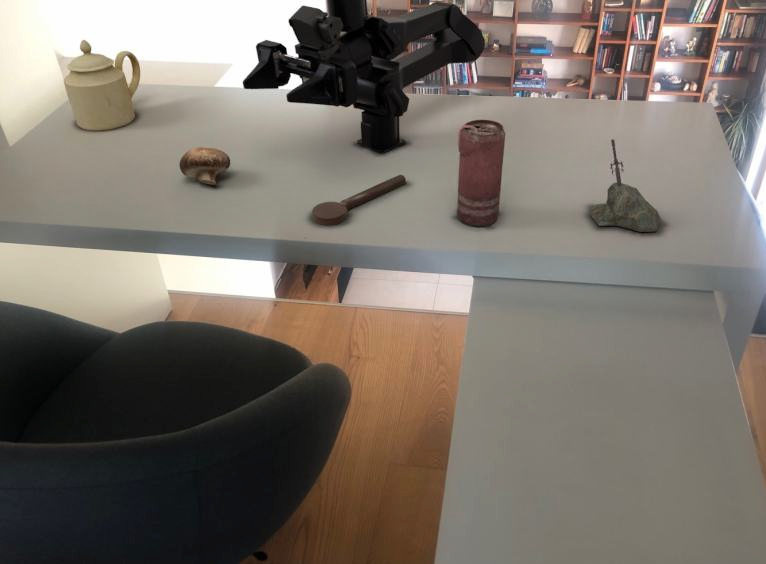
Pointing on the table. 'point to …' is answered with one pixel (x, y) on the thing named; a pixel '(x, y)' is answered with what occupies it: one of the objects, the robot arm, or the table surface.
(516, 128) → the table surface
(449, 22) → the robot arm
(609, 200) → the sword in stone
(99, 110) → the beige ceramic pot
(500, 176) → the can
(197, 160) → the mushroom
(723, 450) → the table surface
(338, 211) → the wooden spoon
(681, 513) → the table surface
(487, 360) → the table surface
